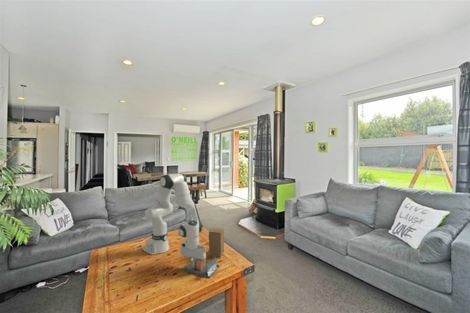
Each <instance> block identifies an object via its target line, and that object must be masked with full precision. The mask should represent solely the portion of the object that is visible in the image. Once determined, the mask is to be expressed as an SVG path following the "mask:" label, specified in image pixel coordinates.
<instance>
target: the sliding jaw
mask: <svg viewBox="0 0 470 313" xmlns="http://www.w3.org/2000/svg"><path fill="white" fill-rule="evenodd" d="M196 260H197V259H196V258H195V259H194V258H193V260H192V269H193V270H195V269H196Z"/></svg>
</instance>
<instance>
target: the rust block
mask: <svg viewBox="0 0 470 313" xmlns="http://www.w3.org/2000/svg"><path fill="white" fill-rule="evenodd" d="M206 261H207V257H206V258H205V259H204V260H200V259H197V260H196V269H197V270H202V269H203V268H204V267H205V265H206Z"/></svg>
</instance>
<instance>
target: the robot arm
mask: <svg viewBox="0 0 470 313" xmlns="http://www.w3.org/2000/svg"><path fill="white" fill-rule="evenodd" d="M173 191H174V199H175V203H176V205H178V206H179V207H180V208H186V209H188V210H189V211H190V214H191V218H192V220H189V221H187V222H185V223H183V224H180V225H179V227H178V235H179V236H180V237H181V238H184V239H185V238H186V240H184V241H182V242H181V243H180V251H179V252H180V255H181V256H184V257H188V258H189V260H190V262H191V263H192V260H194V259H195V258H196V259H200V260H204V259H205V258H206V259H207V253H206V251H207V250H206V247H205V246H203V245H201V244H200V238H199V235H200V234H201V233H202V230H203V223H202V221H201V219H200V216H199V212H198V208H197V205H196V203H195V201H194V200H192V198H191V195H190V194H191V193H190V189H189V186H188V178H187V175H186V174H185V173H181V172H180V173H169V174H163V175H162V176H161V177H160V179H159V183H158V187H157V190H156V196H155V198H156V200H157V201H158V202H159V203H158V204H157V205H152V206H150V207H148V208H146V210H145V212H144V216H145V218H146V219H147V220H148V221H150V222H151V224H152V232H153V233H152V234H151V235H150V236H151V238H149V239H148V240H147V241H146V243H145V246H143V248H142V251H143V250H144V251H143V252H145V251H146V252H145V253H148V254H150V255H152V256H153V255H158V254H163V253H166V252H168V251H169V250H170V245H169V239H168V235H169V234H168V224H167V222H166V221H164V220H163V218H164V217H165V216H168V215H170V214H172V213H173V212H174V204H173V203H171V195H172V192H173Z"/></svg>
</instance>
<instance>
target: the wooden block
mask: <svg viewBox="0 0 470 313" xmlns="http://www.w3.org/2000/svg"><path fill="white" fill-rule="evenodd" d="M224 231H225V229H224V227H216V226H215V227H214V226H213V227H211V229H210V230H209V231H208V256H209V257H212V258H213V257H216V258H222V256H223V254H224V252H225V232H224Z"/></svg>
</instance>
